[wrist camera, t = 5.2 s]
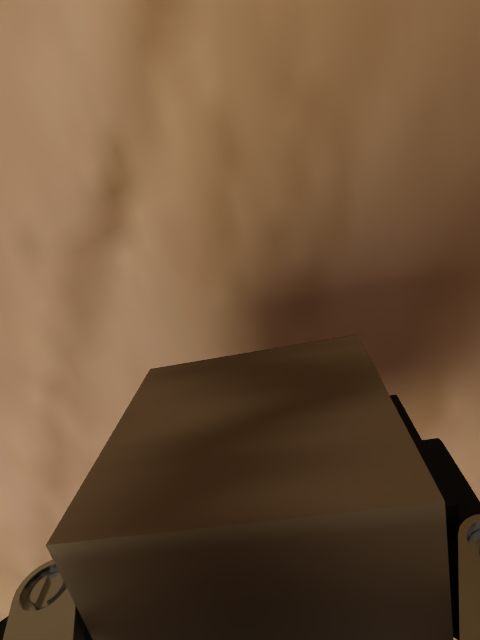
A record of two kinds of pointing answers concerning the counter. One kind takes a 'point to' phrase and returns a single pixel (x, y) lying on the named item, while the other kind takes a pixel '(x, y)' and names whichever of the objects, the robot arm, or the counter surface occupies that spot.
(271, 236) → the counter surface
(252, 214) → the counter surface
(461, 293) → the counter surface
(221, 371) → the tan cube
